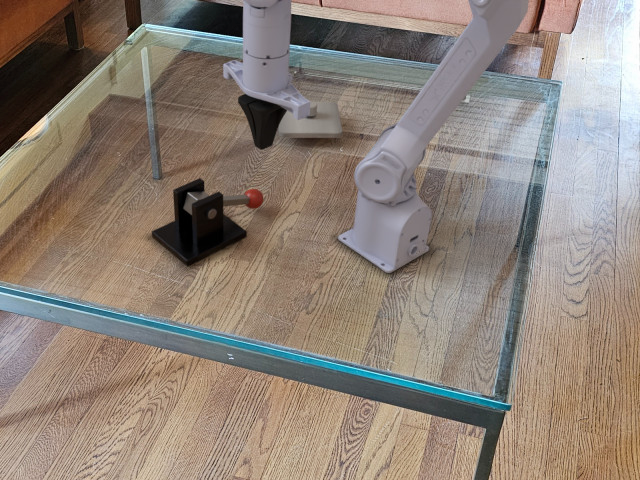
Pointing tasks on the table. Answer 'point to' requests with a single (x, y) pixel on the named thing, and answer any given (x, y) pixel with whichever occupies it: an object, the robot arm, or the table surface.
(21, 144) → the table surface
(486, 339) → the table surface
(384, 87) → the table surface
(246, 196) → the lever
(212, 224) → the bracket
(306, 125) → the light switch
